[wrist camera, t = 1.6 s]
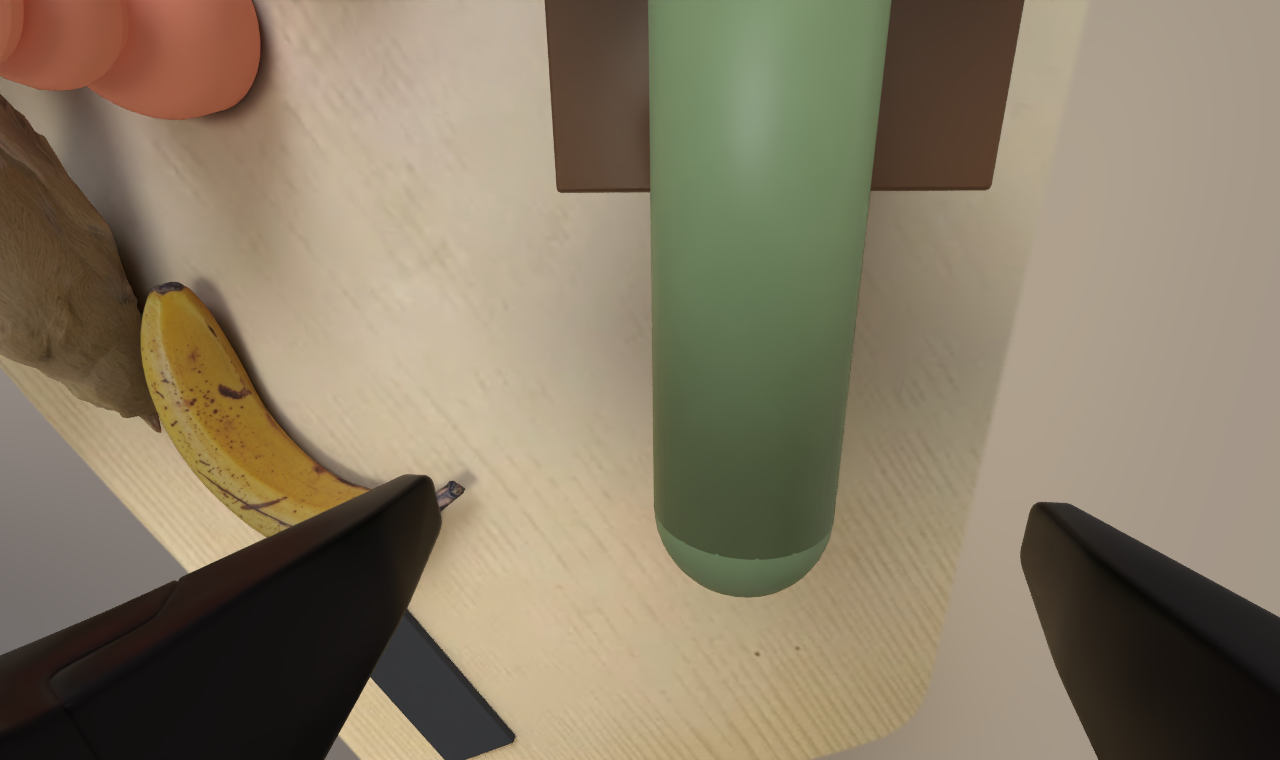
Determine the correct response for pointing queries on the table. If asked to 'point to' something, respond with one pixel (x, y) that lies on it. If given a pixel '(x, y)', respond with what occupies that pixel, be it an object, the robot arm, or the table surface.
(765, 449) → the green pink knobbed rod
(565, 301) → the table surface
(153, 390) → the fruit
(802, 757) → the table surface
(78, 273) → the sculpture
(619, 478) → the table surface
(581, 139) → the block
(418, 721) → the placemat
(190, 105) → the pottery
